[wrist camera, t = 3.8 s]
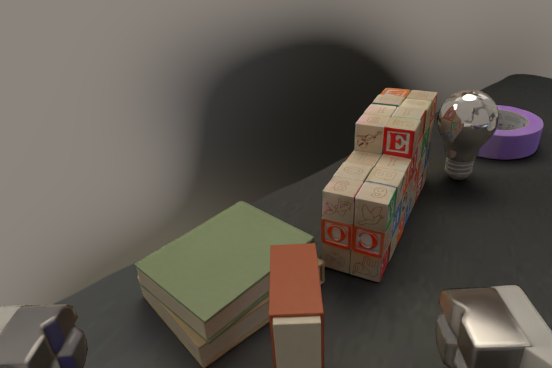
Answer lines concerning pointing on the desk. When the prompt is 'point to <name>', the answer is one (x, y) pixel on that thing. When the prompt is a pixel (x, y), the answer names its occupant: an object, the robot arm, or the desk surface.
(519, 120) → the tape roll
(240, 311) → the book stack
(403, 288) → the desk surface
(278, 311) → the pocket book
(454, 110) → the light bulb
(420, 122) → the stack of blocks
